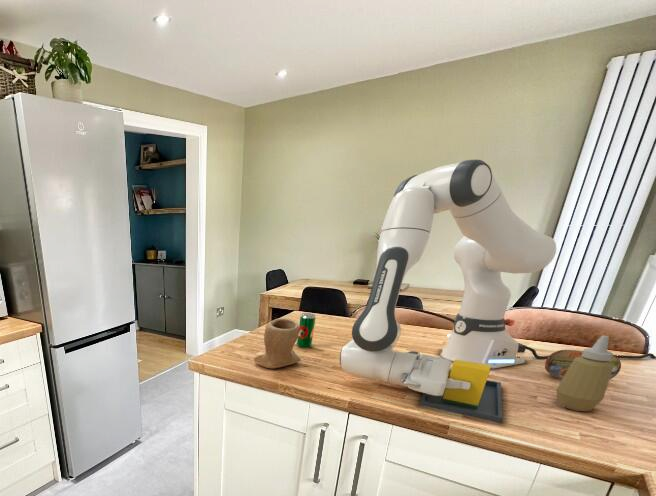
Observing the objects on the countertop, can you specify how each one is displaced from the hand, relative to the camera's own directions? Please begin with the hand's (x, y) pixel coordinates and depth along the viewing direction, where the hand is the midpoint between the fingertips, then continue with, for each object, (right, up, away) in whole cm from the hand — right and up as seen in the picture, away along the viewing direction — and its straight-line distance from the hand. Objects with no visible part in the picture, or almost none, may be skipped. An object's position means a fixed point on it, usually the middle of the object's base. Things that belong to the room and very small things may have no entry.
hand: (470, 381), depth 97 cm
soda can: (-21, +13, +49) cm, 55 cm away
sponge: (-1, -5, +3) cm, 6 cm away
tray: (+3, -4, +7) cm, 8 cm away
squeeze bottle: (+26, -6, 0) cm, 26 cm away
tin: (+43, +1, +16) cm, 46 cm away
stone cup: (-36, +6, +32) cm, 49 cm away
